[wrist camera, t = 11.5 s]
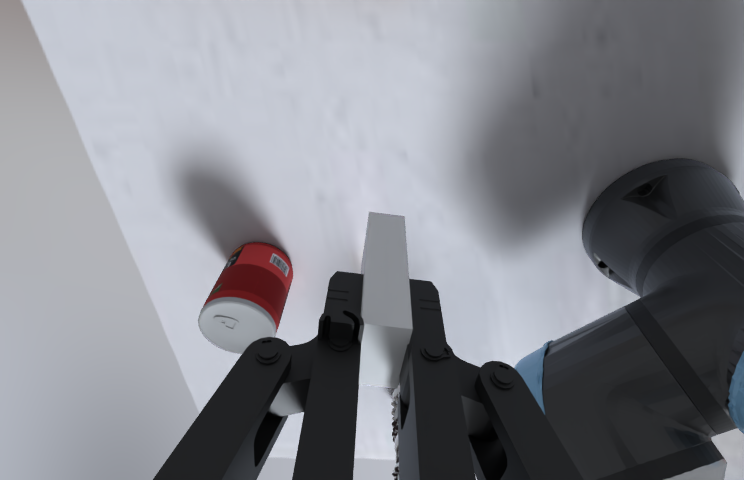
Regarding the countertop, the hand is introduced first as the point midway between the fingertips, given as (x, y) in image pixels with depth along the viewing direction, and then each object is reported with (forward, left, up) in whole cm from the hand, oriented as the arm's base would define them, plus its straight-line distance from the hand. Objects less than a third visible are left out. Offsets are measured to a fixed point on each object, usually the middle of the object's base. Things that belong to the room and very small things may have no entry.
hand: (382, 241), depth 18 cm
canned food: (+12, +23, -27) cm, 37 cm away
